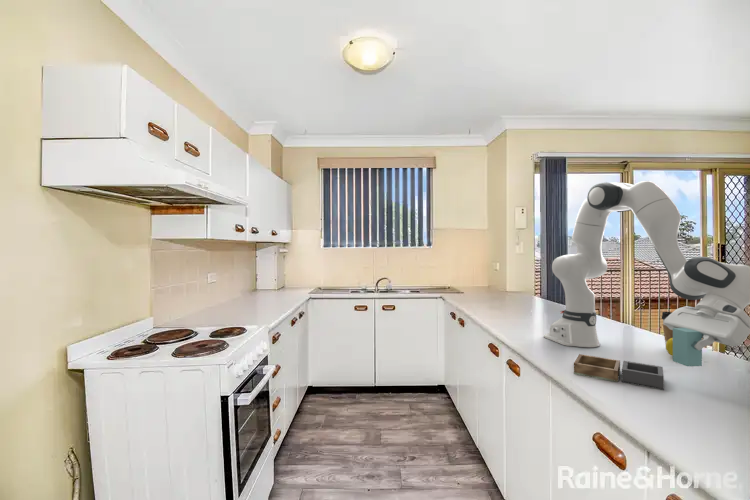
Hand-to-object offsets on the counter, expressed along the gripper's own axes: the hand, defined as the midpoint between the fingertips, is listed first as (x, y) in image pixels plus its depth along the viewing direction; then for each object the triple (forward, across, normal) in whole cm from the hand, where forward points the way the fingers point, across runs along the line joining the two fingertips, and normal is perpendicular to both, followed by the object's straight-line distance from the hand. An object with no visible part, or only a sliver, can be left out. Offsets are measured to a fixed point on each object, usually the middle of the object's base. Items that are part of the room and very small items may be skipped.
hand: (685, 345), depth 101 cm
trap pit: (+14, -7, +4) cm, 16 cm away
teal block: (+3, 0, +4) cm, 5 cm away
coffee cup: (-13, -34, +32) cm, 48 cm away
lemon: (-6, -26, +25) cm, 36 cm away
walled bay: (+21, -15, -2) cm, 26 cm away
